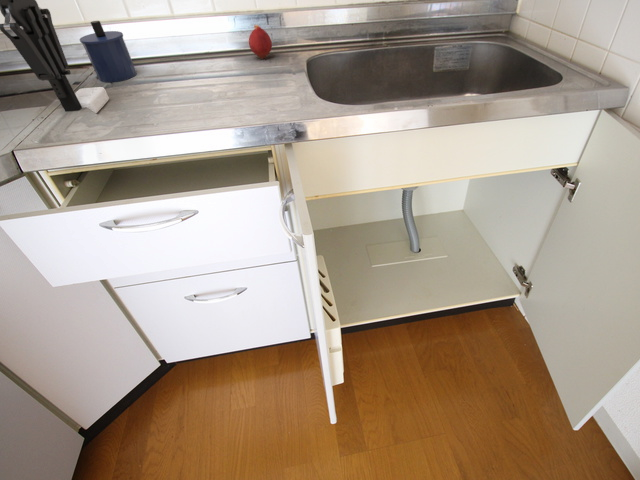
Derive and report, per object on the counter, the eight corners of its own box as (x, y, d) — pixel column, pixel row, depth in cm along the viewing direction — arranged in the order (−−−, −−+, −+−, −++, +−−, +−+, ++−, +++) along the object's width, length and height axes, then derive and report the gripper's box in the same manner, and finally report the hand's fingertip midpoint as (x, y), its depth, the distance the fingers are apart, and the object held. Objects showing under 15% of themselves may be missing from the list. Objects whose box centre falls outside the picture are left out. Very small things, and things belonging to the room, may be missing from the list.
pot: (93, 77, 99) (76, 40, 93) (127, 68, 103) (112, 31, 97) (108, 85, 94) (90, 46, 88) (142, 74, 99) (128, 37, 93)
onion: (267, 54, 108) (261, 20, 102) (278, 58, 104) (272, 24, 99) (248, 58, 105) (241, 24, 99) (259, 63, 102) (252, 28, 96)
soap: (85, 101, 87) (78, 87, 85) (110, 99, 87) (104, 85, 85) (68, 118, 80) (60, 103, 78) (96, 116, 80) (88, 101, 78)
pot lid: (75, 42, 93) (66, 23, 90) (114, 34, 98) (107, 15, 95) (90, 49, 88) (81, 28, 86) (131, 39, 93) (123, 20, 90)
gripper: (0, -31, 58) (81, 123, 74) (40, -41, 67) (105, 98, 84) (-53, -28, 58) (40, 126, 74) (-5, -38, 67) (69, 101, 83)
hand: (74, 111), depth 79 cm, fingers closed
